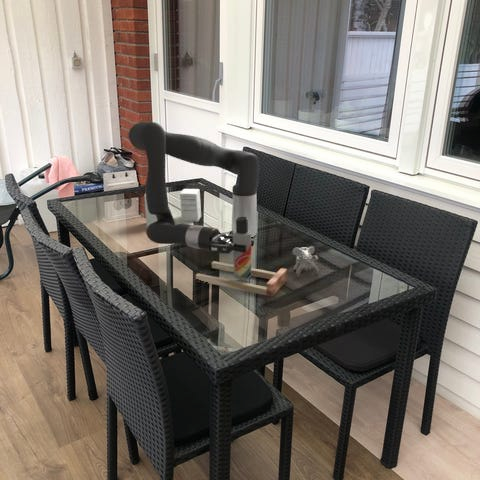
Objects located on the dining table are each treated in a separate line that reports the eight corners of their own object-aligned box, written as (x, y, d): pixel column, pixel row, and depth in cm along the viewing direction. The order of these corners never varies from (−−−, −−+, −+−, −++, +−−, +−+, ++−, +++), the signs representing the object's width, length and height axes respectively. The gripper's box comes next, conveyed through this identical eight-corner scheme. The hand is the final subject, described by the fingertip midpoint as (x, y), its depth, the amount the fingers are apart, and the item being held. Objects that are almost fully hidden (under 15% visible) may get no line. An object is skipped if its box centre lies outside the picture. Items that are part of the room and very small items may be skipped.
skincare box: (150, 222, 218) (146, 188, 213) (164, 221, 218) (161, 188, 213) (146, 229, 210) (143, 194, 205) (161, 228, 210) (157, 194, 205)
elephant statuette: (300, 280, 164) (301, 259, 161) (282, 264, 174) (283, 244, 171) (324, 274, 168) (326, 253, 165) (305, 259, 178) (306, 239, 174)
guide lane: (214, 266, 175) (213, 255, 173) (287, 280, 163) (287, 269, 162) (196, 280, 165) (195, 269, 163) (272, 296, 153) (272, 284, 152)
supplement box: (185, 215, 225) (183, 188, 220) (201, 216, 224) (200, 188, 219) (181, 221, 218) (179, 193, 213) (198, 222, 217) (196, 193, 212)
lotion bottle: (249, 280, 160) (249, 221, 153) (232, 279, 161) (230, 220, 154) (252, 273, 165) (252, 215, 158) (235, 271, 166) (234, 214, 159)
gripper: (190, 234, 158) (239, 243, 150) (213, 220, 169) (259, 227, 162) (191, 256, 161) (239, 265, 153) (214, 240, 172) (259, 248, 165)
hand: (249, 246), depth 158 cm, fingers closed on lotion bottle, 4 cm apart
